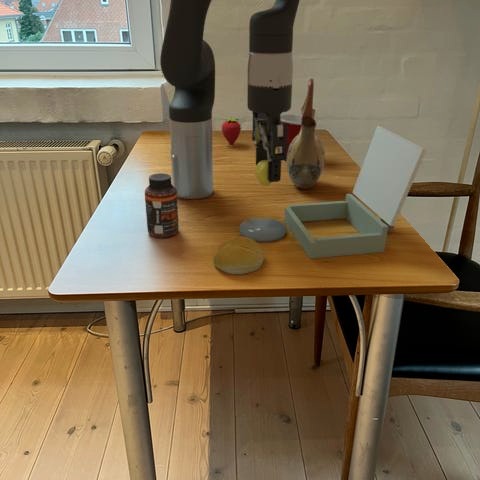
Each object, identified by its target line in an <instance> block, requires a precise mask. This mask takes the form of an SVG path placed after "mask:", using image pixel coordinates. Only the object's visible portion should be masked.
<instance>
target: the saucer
mask: <svg viewBox="0 0 480 480" xmlns="http://www.w3.org/2000/svg"><path fill="white" fill-rule="evenodd" d="M286 233H287V227H286V225H285V224H284V223H283V222H281V221H280V220H276V219H273V218H268V217H267V218H266V217H255V218H250V219H246V220H244V221H243V222H241V223H240V225H239V234H240V235H241V237H247V238H251V239H252V240H254V241H255V242H257V243H258V242H259V243H260V242H261V243H267V242H268V243H269V242H270V243H271V242H275V241H278V240H281V239H283V237H284V238H285V235H286Z"/></svg>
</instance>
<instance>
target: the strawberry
mask: <svg viewBox="0 0 480 480" xmlns="http://www.w3.org/2000/svg"><path fill="white" fill-rule="evenodd" d="M221 120H223V121H224V122H223V123H222V124H221V131H222V135H223V137H224V138H225V140H226V141H227V142H228V143H229V145H230V146H233V145H235V143H236V141H237V140H238V138H239V136H240V134H241V129H242V128H241V124H240V123H239V120H240V119H239V118H234V117H231V118H221Z"/></svg>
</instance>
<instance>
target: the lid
mask: <svg viewBox="0 0 480 480" xmlns="http://www.w3.org/2000/svg"><path fill="white" fill-rule="evenodd" d="M426 153H427V149H426V148H424V147H422V146H421V145H418V144H416V143H415V142H412V141H410V140H409V139H406V138H404V137H402V136H401V135H398V134H397V133H395V132H393V131H390V130H388V129H387V128H386V127H385V128H384V127H383V126H381V125H380V126H379V125H377V126H376V128H375V132H374V134H373V137H372V139H371V142H370V145H369V147H368V150H367V152H366V155H365V158H364V161H363V164H362V166H361V168H360V171H359V174H358V176H357V179H356V182H355V184H354V188H353V190H352V193H351V194H352V195H354V196H356V198H357V199H358V200H360V202H361V203H363V204H365V206H366V207H367V208H368V209H369V210H372V212H374V213H375V215H376V216H377V215H378V216H377V217H380V219H381V218H382V219H383V220H384V221H385V222H386V223H388V224H389V225H390V226H394V225H396V223H397V220H398V218H399V215H400V213H401V210H402V208H403V206H404V204H405V201H406V199H407V197H408V194H409V192H410V190H411V187H412V186H413V182H414V180H415V178H416V176H417V174H418V171H419V169H420V166H421V164H422V162H423V159H424V157H425V155H426ZM394 227H395V226H394Z"/></svg>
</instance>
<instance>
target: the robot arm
mask: <svg viewBox="0 0 480 480" xmlns="http://www.w3.org/2000/svg"><path fill="white" fill-rule="evenodd" d="M300 1H301V0H275V2H274V4H272V7H270V8H269V9H264V10H260V11H257V12H255V13H253V14H252V15H251V16H250V19H249V25H248V26H249V29H248V30H249V31H248V33H249V35H248V36H249V37H248V38H249V39H248V40H249V41H248V42H249V43H248V44H249V45H248V47H249V48H248V51H249V53H248V60H247V61H248V62H247V103H246V104H247V109H248V110H249V111H250V112H252V129H251V130H252V135H251V140H252V142H253V143H254V147H255V166H256V165H257V164H258V163H259V162H260V161H262V160H268V176H267V179H268V181H269V182H272V183H277V182H280V181H281V177H282V174H281V173H282V161H285V160H286V159H287V129H288V127H287V124H282V122H281V117H280V115H281V114H284V113H286V112H289V111H290V110H291V108H292V96H293V92H292V91H293V77H294V76H293V74H294V63H293V44H294V43H293V42H294V41H293V40H294V26H295V25H294V23H295V22H296V21H295V20H296V17H297V16H296V15H297V12H298V8H299V4H300ZM211 3H212V0H170V4H169V11H168V15H167V16H168V18H167V21H166V27H165V31H164V37H163V41H162V46H161V50H160V57H159V59H160V62H159V63H160V70H161V72H162V76H163V77H164V79H165V81H167V82H168V84H170V85H171V86H173V88H174V94H173V98H172V100H171V101H170V104H169V107H168V116H169V117H168V118H169V133H170V134H169V135H170V161H171V163H170V165H171V166H170V167H171V176H172V177H171V184H172V185H173V186H174V187H175V188H176V190H177V198H182V199H188V200H196V199H198V200H199V199H203V198H207V197H209V196H212V194H213V193H214V170H213V169H214V167H213V166H214V165H213V164H214V163H213V162H214V161H213V158H214V157H213V156H214V155H213V108H214V104H215V99H216V98H215V97H216V96H215V95H216V94H215V93H216V61H215V55H214V51H213V49H212V47H211V46H210V44H209V43H208V42H207V41H205V40H204V32H205V31H204V30H205V24H206V19H207V15H208V11H209V8H210V5H211ZM276 150H277V153H276Z"/></svg>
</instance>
